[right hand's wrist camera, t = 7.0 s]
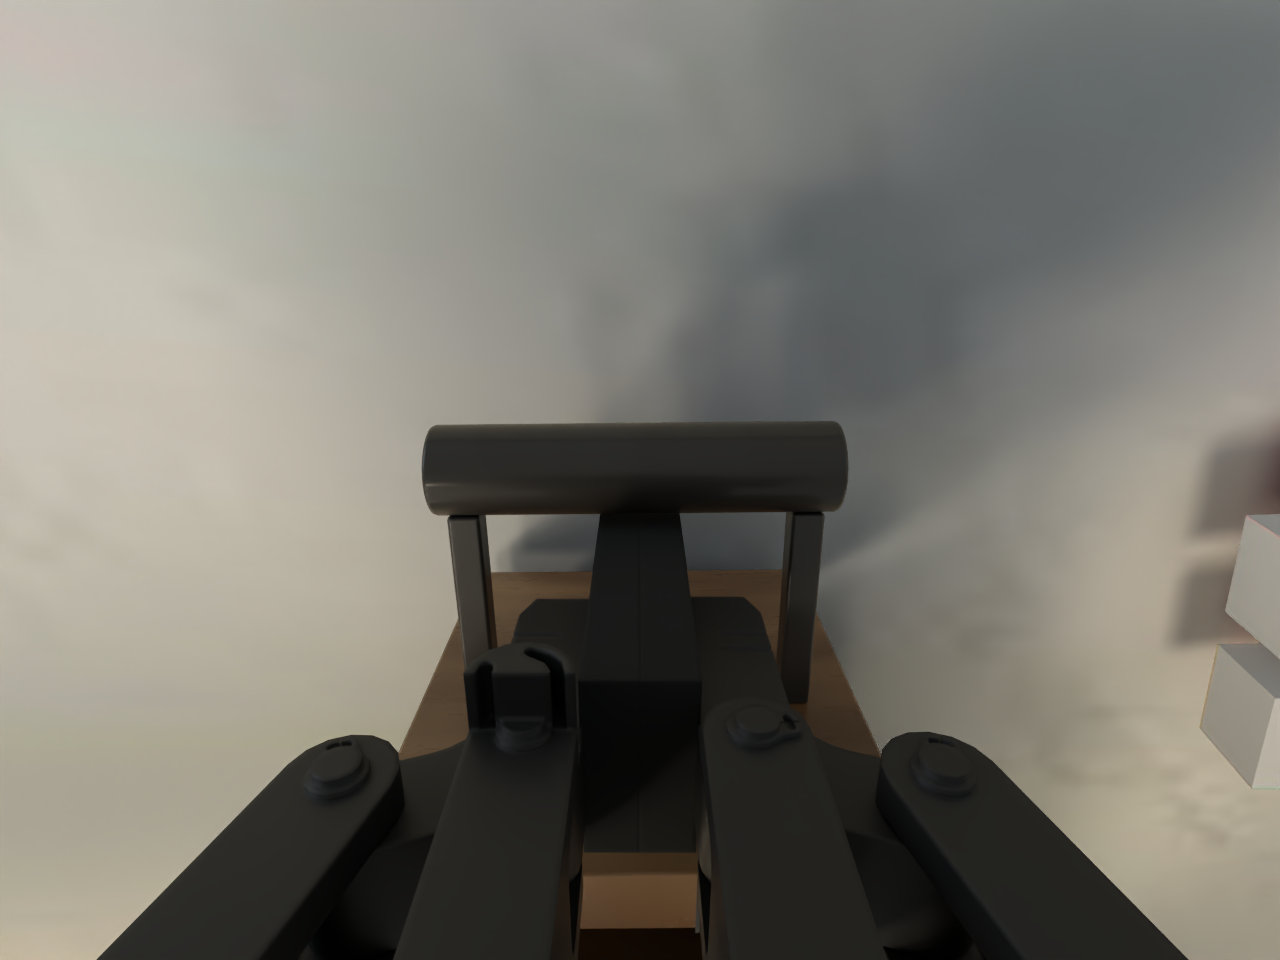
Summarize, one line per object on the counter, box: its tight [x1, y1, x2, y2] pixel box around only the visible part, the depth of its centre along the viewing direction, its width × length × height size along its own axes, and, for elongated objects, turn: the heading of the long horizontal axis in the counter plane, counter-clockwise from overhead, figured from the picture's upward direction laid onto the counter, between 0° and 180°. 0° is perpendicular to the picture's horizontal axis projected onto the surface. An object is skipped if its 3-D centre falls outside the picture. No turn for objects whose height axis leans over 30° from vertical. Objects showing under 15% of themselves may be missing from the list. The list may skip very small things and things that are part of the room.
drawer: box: [398, 421, 881, 960], centre depth 17 cm, size 24×9×10 cm, turn 1°
